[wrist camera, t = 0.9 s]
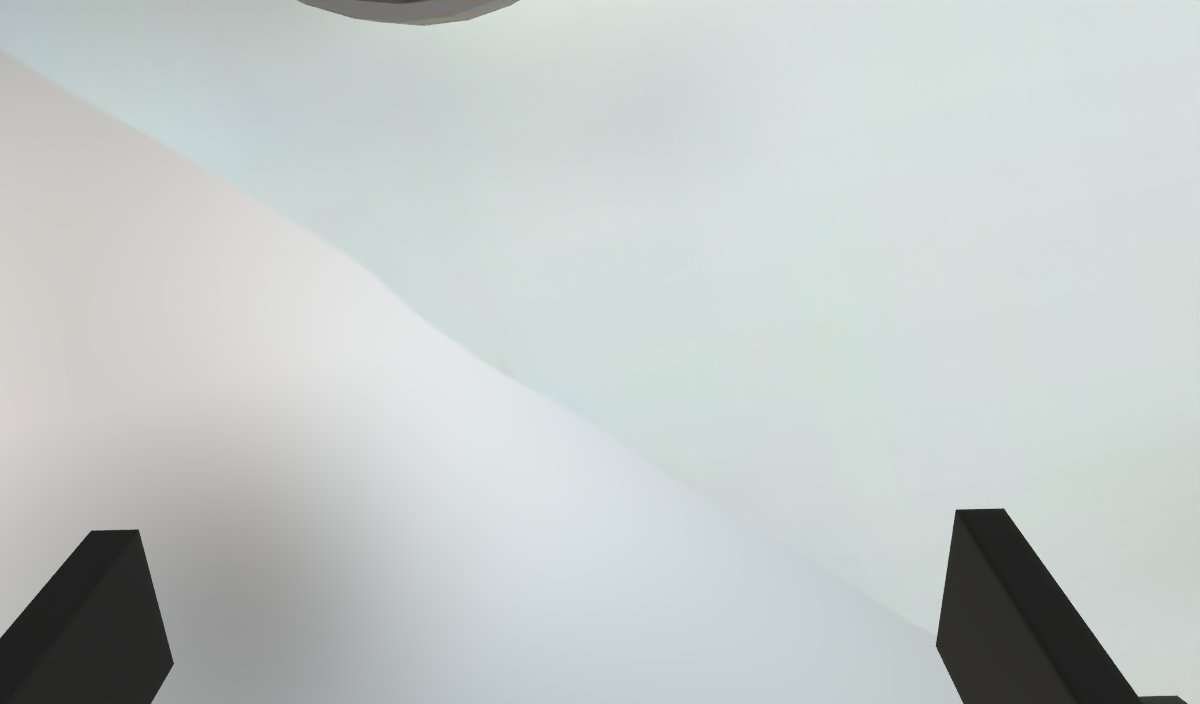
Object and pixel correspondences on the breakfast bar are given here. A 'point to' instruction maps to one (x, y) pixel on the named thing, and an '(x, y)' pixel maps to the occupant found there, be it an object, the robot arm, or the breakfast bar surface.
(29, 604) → the robot arm
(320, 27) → the breakfast bar surface
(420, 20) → the reusable coffee cup
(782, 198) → the breakfast bar surface
